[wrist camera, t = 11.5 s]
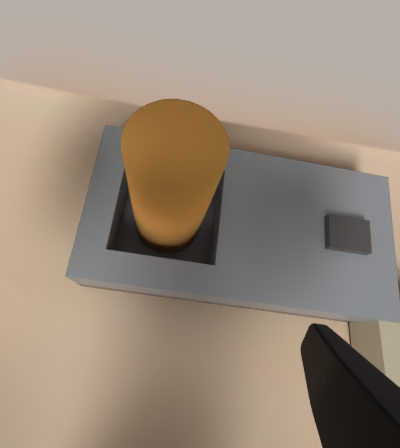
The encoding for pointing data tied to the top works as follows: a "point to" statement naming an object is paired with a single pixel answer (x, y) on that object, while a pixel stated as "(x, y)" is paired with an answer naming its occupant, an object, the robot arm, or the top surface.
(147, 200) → the orange cylinder
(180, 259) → the grey block with pocket
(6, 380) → the top surface
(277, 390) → the top surface
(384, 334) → the electrical outlet
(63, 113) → the top surface
